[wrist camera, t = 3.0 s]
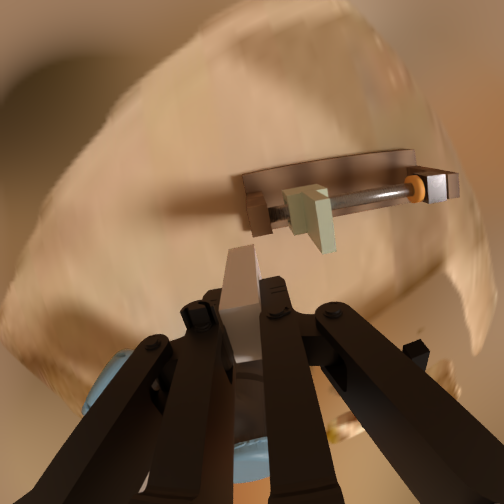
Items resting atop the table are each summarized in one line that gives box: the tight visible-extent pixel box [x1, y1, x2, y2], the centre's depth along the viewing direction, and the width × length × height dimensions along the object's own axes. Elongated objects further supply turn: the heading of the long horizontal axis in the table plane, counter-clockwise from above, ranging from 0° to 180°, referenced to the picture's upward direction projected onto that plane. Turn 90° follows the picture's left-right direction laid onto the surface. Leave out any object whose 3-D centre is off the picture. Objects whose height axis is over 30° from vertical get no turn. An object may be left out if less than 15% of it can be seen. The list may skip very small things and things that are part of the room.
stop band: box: [404, 175, 425, 203], centre depth 28 cm, size 1×3×3 cm, turn 12°
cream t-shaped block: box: [282, 184, 336, 254], centre depth 26 cm, size 4×4×10 cm
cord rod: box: [268, 171, 447, 223], centre depth 28 cm, size 24×3×3 cm, turn 102°
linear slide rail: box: [242, 149, 460, 237], centre depth 32 cm, size 26×8×12 cm, turn 102°
